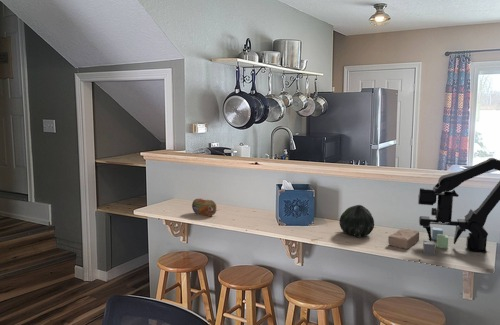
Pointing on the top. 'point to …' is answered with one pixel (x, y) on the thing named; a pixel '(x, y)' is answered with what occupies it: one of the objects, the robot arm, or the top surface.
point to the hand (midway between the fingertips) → (442, 242)
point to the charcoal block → (429, 248)
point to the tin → (204, 207)
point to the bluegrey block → (436, 232)
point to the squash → (357, 221)
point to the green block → (442, 241)
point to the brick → (403, 238)
